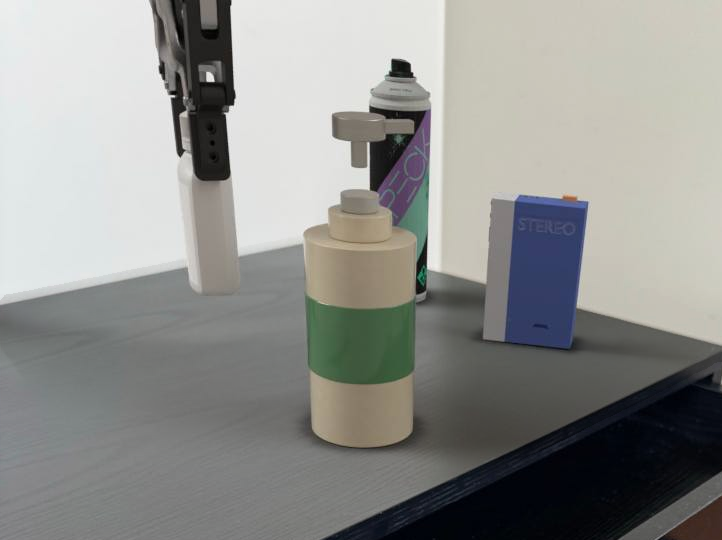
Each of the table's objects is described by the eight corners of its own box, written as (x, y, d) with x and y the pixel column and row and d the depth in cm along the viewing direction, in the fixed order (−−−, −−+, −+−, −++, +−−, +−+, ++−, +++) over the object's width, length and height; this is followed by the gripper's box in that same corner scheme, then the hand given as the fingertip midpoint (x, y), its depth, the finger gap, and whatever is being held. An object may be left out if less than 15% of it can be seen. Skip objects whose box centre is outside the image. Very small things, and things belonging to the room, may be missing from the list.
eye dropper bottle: (166, 292, 66) (141, 91, 59) (205, 271, 70) (186, 82, 63) (225, 301, 65) (207, 98, 58) (261, 279, 70) (248, 89, 63)
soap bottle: (327, 453, 65) (318, 208, 56) (299, 412, 71) (287, 181, 62) (428, 441, 68) (435, 204, 59) (393, 402, 73) (395, 179, 64)
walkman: (572, 339, 87) (589, 196, 80) (569, 349, 85) (586, 203, 78) (487, 329, 88) (496, 187, 81) (481, 339, 86) (490, 193, 79)
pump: (341, 172, 58) (340, 119, 56) (326, 161, 60) (325, 111, 58) (420, 171, 60) (421, 119, 58) (402, 160, 62) (403, 111, 60)
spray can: (359, 292, 95) (356, 56, 84) (403, 284, 98) (405, 55, 87) (393, 307, 92) (395, 63, 80) (437, 298, 95) (445, 62, 83)
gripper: (85, -165, 57) (129, 149, 67) (115, -180, 47) (161, 195, 57) (214, -153, 60) (237, 149, 70) (269, -164, 50) (287, 192, 59)
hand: (203, 168), depth 63 cm, fingers closed on eye dropper bottle, 5 cm apart
